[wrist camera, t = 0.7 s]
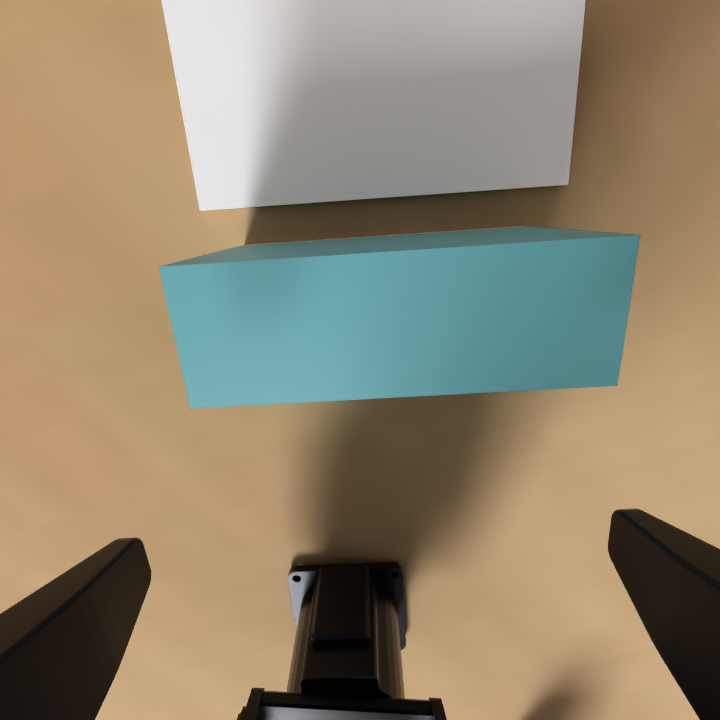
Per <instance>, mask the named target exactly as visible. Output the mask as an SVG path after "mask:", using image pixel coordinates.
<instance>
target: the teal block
mask: <svg viewBox="0 0 720 720" xmlns="http://www.w3.org/2000/svg"><path fill="white" fill-rule="evenodd" d="M639 240H640V235H634V234H621V233H608V232H595V231H582V230H569V229H557V228H544V227H531V226H516V227H502V228H487V229H472V230H457V231H442V232H428V233H413V234H398V235H383V236H369V237H354V238H339V239H324V240H309V241H295V242H280V243H265V244H250V245H242V246H238V247H234V248H230V249H226V250H223V251H219V252H215V253H211V254H207V255H203V256H199V257H195V258H191V259H187V260H183V261H180V262H176V263H172V264H168V265H164V266H160V267H159V270H160V274H161V279H162V283H163V288H164V292H165V297H166V301H167V306H168V310H169V315H170V319H171V324H172V328H173V333H174V337H175V342H176V346H177V351H178V355H179V360H180V364H181V369H182V373H183V378H184V382H185V387H186V391H187V396H188V400H189V405H190V409H193V408H211V407H230V406H248V405H267V404H286V403H304V402H323V401H341V400H360V399H379V398H397V397H416V396H434V395H453V394H472V393H490V392H509V391H528V390H546V389H565V388H583V387H602V386H617V385H618V378H619V372H620V365H621V359H622V352H623V345H624V339H625V332H626V326H627V319H628V313H629V306H630V299H631V293H632V286H633V280H634V273H635V266H636V260H637V253H638V247H639Z"/></svg>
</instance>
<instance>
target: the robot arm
mask: <svg viewBox="0 0 720 720" xmlns="http://www.w3.org/2000/svg"><path fill="white" fill-rule="evenodd" d="M608 551H609V555H610V558H611V560H612V562H613V564H614V566H615V568H616V570H617V572H618V574H619V576H620V578H621V580H622V582H623V584H624V586H625V588H626V590H627V592H628V594H629V596H630V598H631V600H632V602H633V604H634V606H635V608H636V610H637V612H638V614H639V616H640V618H641V620H642V622H643V624H644V626H645V628H646V630H647V632H648V634H649V636H650V638H651V640H652V642H653V644H654V645H655V647H656V649H657V650H658V652H659V654H660V656H661V657H662V659H663V661H664V662H665V664H666V665H667V667H668V669H669V670H670V672H671V674H672V675H673V677H674V678H675V680H676V682H677V683H678V685H679V687H680V688H681V690H682V691H683V693H684V695H685V696H686V698H687V699H688V701H689V703H690V704H691V706H692V708H693V709H694V711H695V712H696V714H697V716H698V717H699V719H700V720H720V549H718V548H716V547H714V546H712V545H710V544H708V543H706V542H704V541H702V540H700V539H698V538H696V537H694V536H692V535H690V534H688V533H686V532H684V531H682V530H680V529H678V528H676V527H674V526H672V525H670V524H668V523H666V522H664V521H662V520H660V519H658V518H656V517H654V516H652V515H650V514H648V513H646V512H644V511H642V510H640V509H619V510H616V511H614V512H613V514H612V517H611V525H610V533H609V540H608ZM393 571H395V572H394V573H393ZM295 575H298V576H295ZM150 581H151V569H150V565H149V562H148V558H147V555H146V552H145V548H144V545H143V542H142V541H141V539H139V538H121V539H117V540H115V541H113V542H111V543H110V544H108V545H107V546H105V547H104V548H102V549H101V550H99V551H97V552H96V553H94V554H93V555H91V556H90V557H88V558H87V559H85V560H83V561H82V562H80V563H79V564H77V565H76V566H74V567H73V568H71V569H69V570H68V571H66V572H65V573H63V574H62V575H60V576H59V577H57V578H55V579H54V580H52V581H51V582H49V583H48V584H46V585H45V586H43V587H41V588H40V589H38V590H37V591H35V592H34V593H32V594H31V595H29V596H27V597H26V598H24V599H23V600H21V601H20V602H18V603H17V604H15V605H13V606H12V607H10V608H9V609H7V610H6V611H4V612H3V613H1V614H0V720H95V718H96V716H97V714H98V712H99V710H100V707H101V705H102V703H103V701H104V699H105V697H106V695H107V693H108V691H109V688H110V686H111V684H112V682H113V680H114V677H115V675H116V673H117V671H118V668H119V666H120V663H121V661H122V658H123V656H124V653H125V650H126V648H127V645H128V642H129V639H130V637H131V634H132V631H133V629H134V626H135V623H136V621H137V618H138V615H139V612H140V610H141V607H142V604H143V602H144V599H145V596H146V593H147V591H148V588H149V585H150ZM288 582H289V588H290V595H291V601H292V607H293V613H294V620H295V626H296V638H295V644H294V650H293V656H292V662H291V668H290V674H289V680H288V686H287V692H277V691H264V688H252V690H251V693H250V697H249V700H248V703H247V706H246V707H244V706H243V709H242V712H241V713H240V714H238V718H237V720H447V719H446V715H445V711H444V707H443V704H442V700H441V698H429V700H416V699H405V696H404V684H403V671H402V659H401V650H402V649H404V648H405V646H406V637H405V612H404V587H403V570H402V566H401V565H400V564H398V563H395V562H388V563H364V564H340V565H316V566H296V567H293V568H291V569H290V571H289V575H288Z"/></svg>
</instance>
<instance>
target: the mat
mask: <svg viewBox="0 0 720 720" xmlns="http://www.w3.org/2000/svg"><path fill="white" fill-rule="evenodd" d="M585 2H586V0H162V6H163V11H164V17H165V22H166V27H167V33H168V38H169V44H170V49H171V55H172V60H173V66H174V71H175V77H176V82H177V88H178V93H179V99H180V104H181V110H182V115H183V121H184V126H185V131H186V137H187V142H188V148H189V153H190V159H191V164H192V170H193V175H194V181H195V186H196V192H197V197H198V203H199V208H200V211H205V210H219V209H234V208H248V207H262V206H276V205H290V204H304V203H319V202H333V201H347V200H361V199H375V198H389V197H404V196H418V195H432V194H446V193H460V192H474V191H489V190H503V189H517V188H531V187H545V186H559V185H568V183H569V172H570V162H571V151H572V140H573V130H574V119H575V109H576V98H577V87H578V77H579V66H580V55H581V45H582V34H583V24H584V13H585Z"/></svg>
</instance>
